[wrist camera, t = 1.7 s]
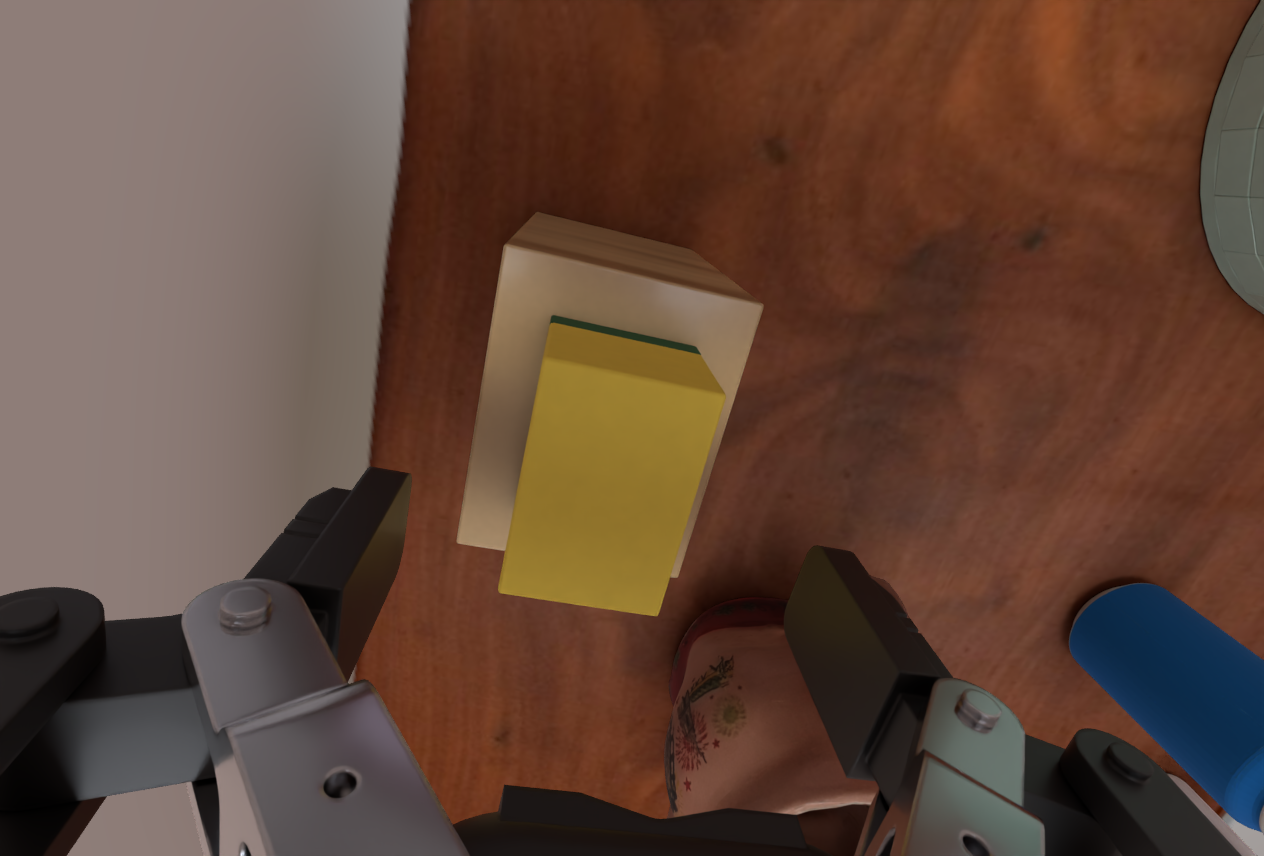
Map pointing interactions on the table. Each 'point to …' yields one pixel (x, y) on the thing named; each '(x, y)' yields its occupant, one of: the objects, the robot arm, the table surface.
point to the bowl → (1238, 168)
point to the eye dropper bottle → (1214, 818)
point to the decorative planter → (756, 729)
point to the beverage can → (1181, 688)
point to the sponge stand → (599, 294)
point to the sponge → (609, 467)
